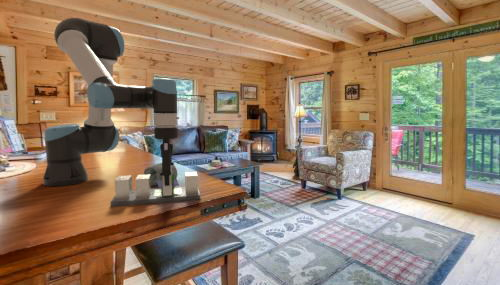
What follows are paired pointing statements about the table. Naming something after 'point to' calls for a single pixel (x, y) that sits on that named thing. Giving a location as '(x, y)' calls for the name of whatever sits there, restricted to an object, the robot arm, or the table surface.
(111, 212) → the table surface
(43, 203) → the table surface
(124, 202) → the finger rail
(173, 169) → the grey rounded lump
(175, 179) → the geometric puzzle
